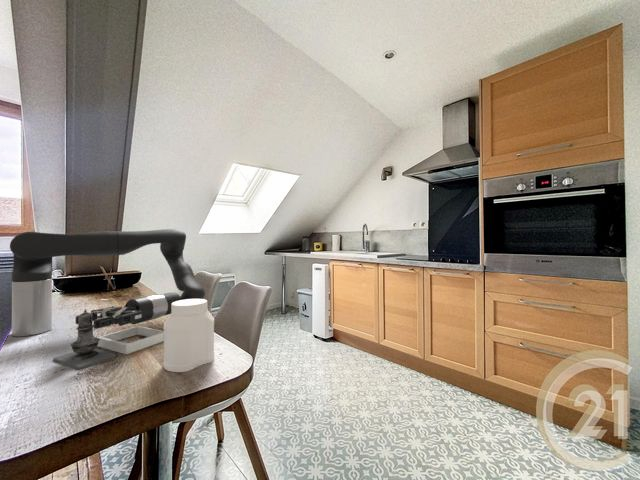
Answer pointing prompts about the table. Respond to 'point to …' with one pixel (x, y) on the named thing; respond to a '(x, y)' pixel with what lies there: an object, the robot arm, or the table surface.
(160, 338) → the frame
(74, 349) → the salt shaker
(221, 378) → the table surface
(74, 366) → the rubber mat
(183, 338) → the jar
